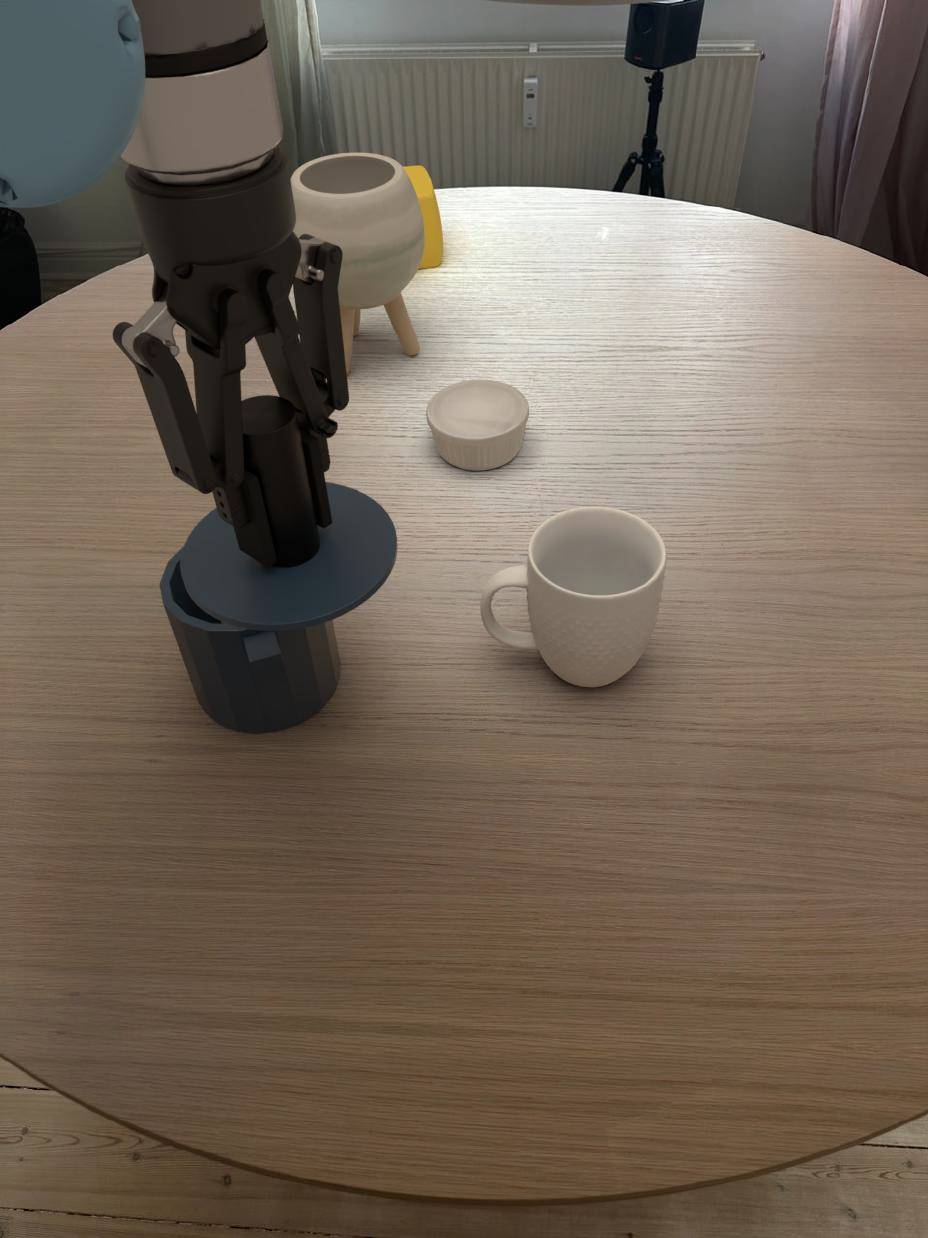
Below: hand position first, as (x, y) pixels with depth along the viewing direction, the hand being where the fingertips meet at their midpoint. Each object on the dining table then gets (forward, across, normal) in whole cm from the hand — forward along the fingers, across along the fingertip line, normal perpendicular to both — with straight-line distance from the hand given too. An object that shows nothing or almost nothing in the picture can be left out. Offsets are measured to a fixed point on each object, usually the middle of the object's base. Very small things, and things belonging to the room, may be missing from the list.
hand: (286, 535), depth 62 cm
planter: (+25, -47, -43) cm, 68 cm away
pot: (+25, -3, -12) cm, 27 cm away
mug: (+25, -22, +8) cm, 34 cm away
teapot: (+25, -70, -59) cm, 95 cm away
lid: (+2, 0, 0) cm, 2 cm away
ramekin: (+25, -40, -19) cm, 51 cm away
